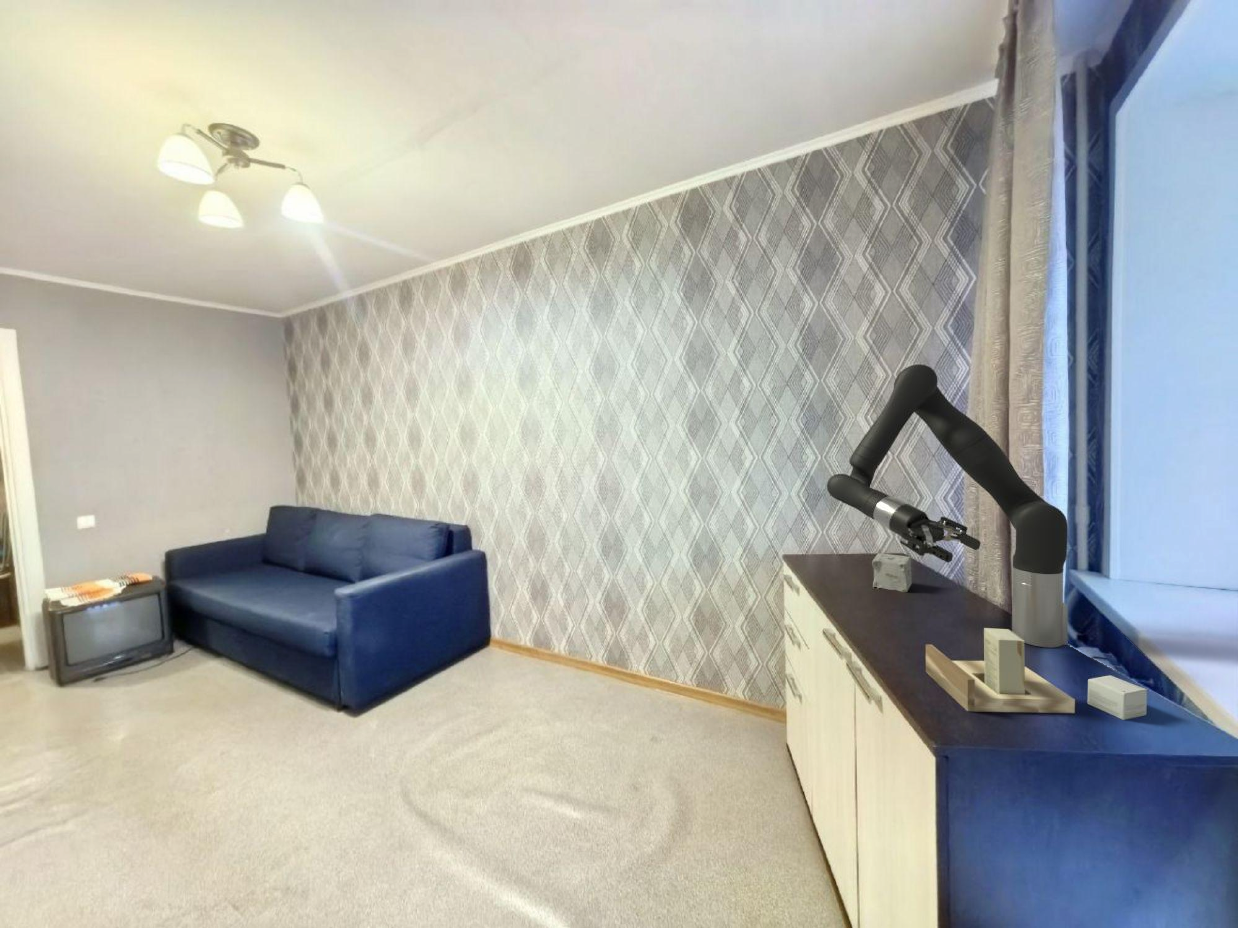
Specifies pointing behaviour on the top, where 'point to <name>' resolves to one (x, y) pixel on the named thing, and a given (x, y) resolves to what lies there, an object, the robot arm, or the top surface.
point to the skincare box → (1004, 661)
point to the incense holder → (892, 572)
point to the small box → (1117, 697)
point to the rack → (976, 696)
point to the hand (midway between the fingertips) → (965, 552)
